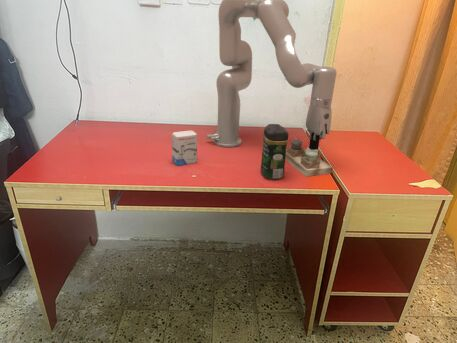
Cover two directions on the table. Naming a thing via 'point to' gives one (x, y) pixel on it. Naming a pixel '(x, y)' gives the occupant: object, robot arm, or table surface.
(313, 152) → the sage button
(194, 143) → the ink box
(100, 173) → the table surface
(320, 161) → the switch board
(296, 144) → the charcoal button
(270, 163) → the coffee jar
